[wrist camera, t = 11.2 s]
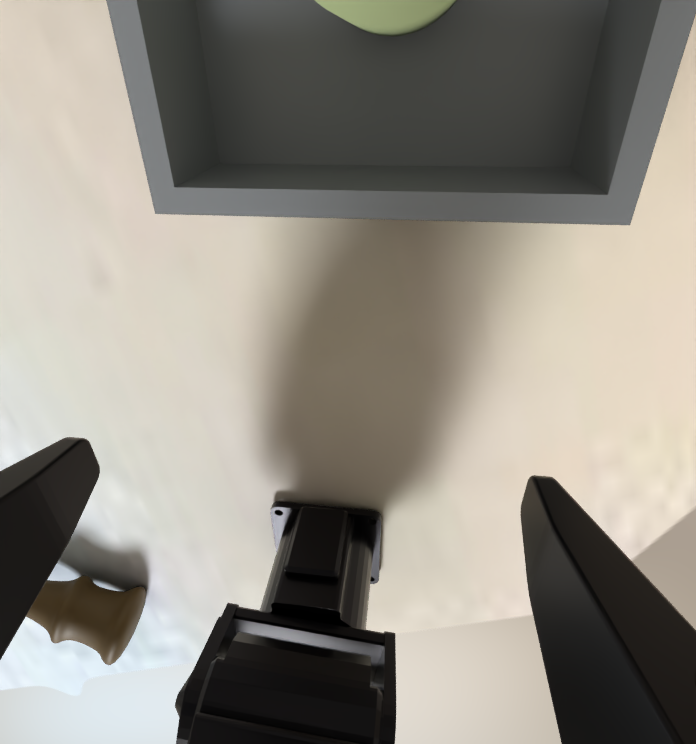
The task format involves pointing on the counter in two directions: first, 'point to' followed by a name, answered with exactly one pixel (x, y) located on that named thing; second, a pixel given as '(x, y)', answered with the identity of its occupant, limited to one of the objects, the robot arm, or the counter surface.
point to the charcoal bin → (400, 108)
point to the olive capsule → (389, 14)
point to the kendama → (89, 614)
